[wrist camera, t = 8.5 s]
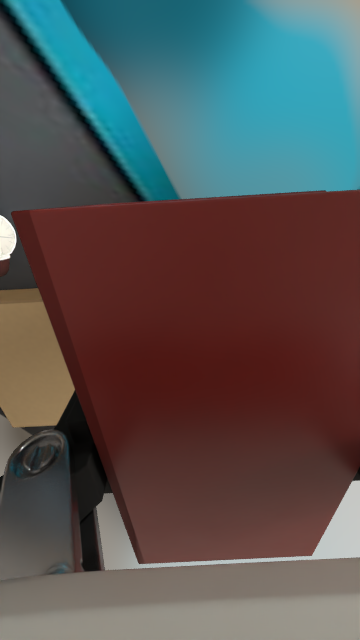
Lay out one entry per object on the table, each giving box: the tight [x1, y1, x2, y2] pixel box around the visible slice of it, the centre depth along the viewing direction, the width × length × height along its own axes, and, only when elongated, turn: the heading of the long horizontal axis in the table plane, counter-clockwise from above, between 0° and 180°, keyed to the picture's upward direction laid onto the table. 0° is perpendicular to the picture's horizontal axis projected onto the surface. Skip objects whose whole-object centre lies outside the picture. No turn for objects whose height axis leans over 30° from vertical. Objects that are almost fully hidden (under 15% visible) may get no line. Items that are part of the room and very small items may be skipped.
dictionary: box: [11, 190, 360, 564], centre depth 8 cm, size 12×6×4 cm, turn 3°
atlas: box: [0, 288, 75, 427], centre depth 25 cm, size 16×12×3 cm
